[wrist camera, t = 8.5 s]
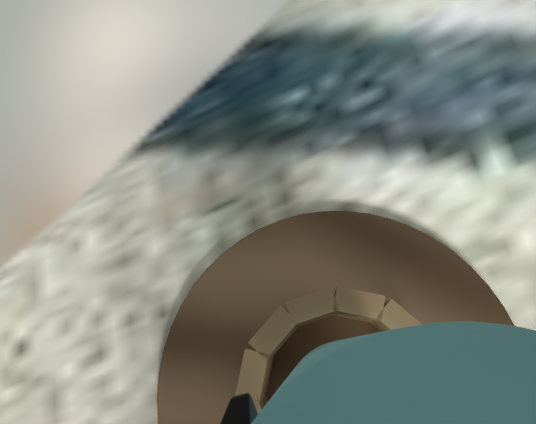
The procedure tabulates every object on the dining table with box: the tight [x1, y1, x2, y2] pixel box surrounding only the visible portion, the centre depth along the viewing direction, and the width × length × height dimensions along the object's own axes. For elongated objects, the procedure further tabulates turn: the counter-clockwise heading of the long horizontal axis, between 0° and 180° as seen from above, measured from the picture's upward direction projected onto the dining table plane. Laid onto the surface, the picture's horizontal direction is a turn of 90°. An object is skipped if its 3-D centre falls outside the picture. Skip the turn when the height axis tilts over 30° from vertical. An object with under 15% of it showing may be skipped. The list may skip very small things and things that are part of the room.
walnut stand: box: [157, 211, 514, 424], centre depth 19 cm, size 17×17×4 cm
